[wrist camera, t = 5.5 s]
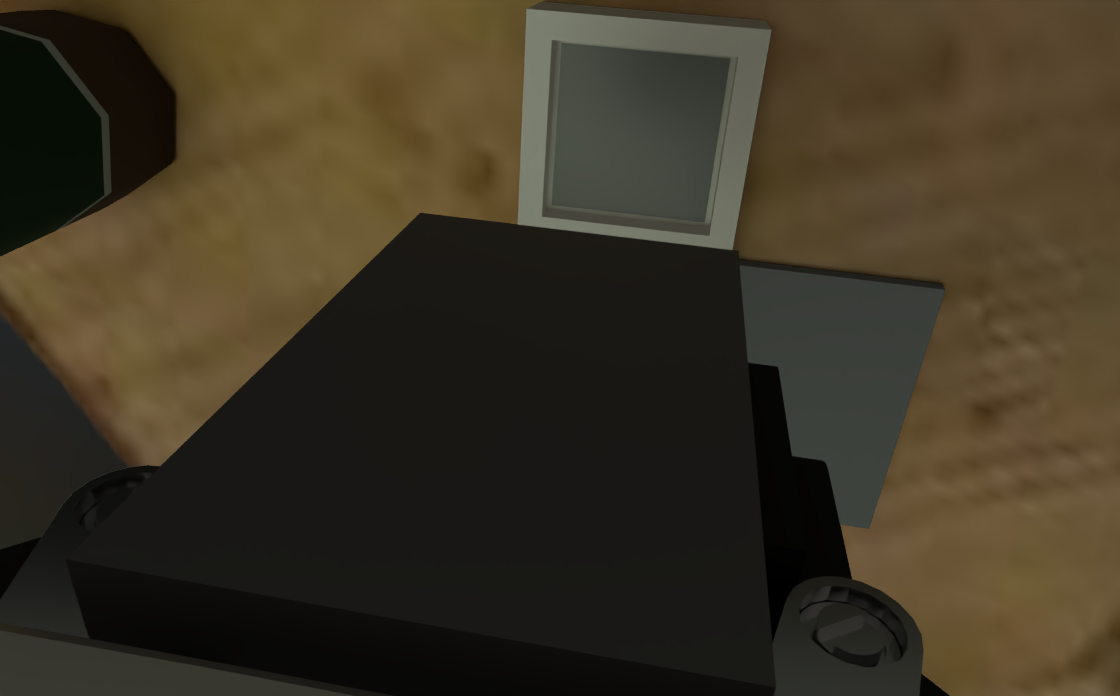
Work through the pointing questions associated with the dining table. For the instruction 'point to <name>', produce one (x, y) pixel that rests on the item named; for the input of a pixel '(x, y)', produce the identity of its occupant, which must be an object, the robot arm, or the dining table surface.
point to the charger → (470, 483)
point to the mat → (841, 366)
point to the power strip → (638, 121)
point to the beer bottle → (73, 121)
